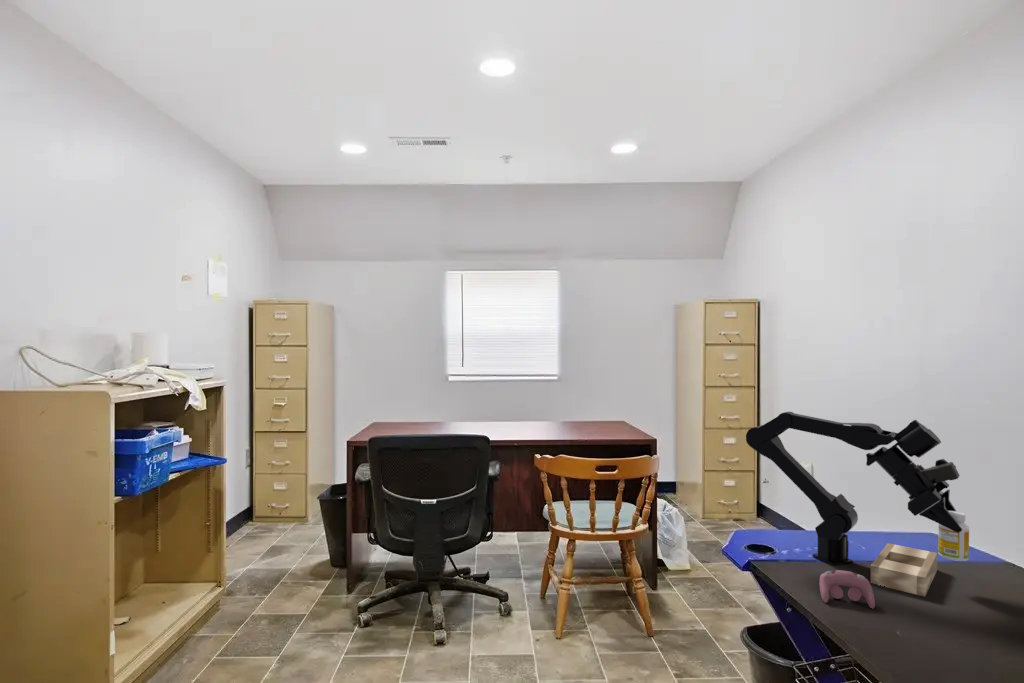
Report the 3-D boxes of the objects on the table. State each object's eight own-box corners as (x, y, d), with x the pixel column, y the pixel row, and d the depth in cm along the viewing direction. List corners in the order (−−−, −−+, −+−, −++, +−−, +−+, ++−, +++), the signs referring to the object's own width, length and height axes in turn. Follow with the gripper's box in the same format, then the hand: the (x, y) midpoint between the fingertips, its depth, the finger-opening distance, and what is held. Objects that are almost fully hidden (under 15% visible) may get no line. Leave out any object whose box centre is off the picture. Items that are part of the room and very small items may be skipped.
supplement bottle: (958, 553, 131) (958, 509, 131) (974, 562, 125) (975, 517, 125) (932, 552, 131) (933, 508, 131) (948, 561, 126) (948, 516, 126)
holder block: (870, 583, 130) (870, 565, 130) (887, 559, 145) (887, 543, 145) (925, 596, 123) (925, 577, 123) (937, 569, 138) (937, 553, 138)
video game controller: (872, 610, 120) (868, 574, 123) (877, 609, 116) (873, 572, 119) (818, 603, 123) (816, 568, 126) (822, 601, 119) (819, 565, 122)
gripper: (927, 454, 124) (993, 517, 117) (938, 443, 138) (998, 499, 130) (883, 484, 129) (944, 546, 122) (898, 471, 143) (953, 526, 136)
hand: (961, 528), depth 127 cm, fingers closed on supplement bottle, 5 cm apart
